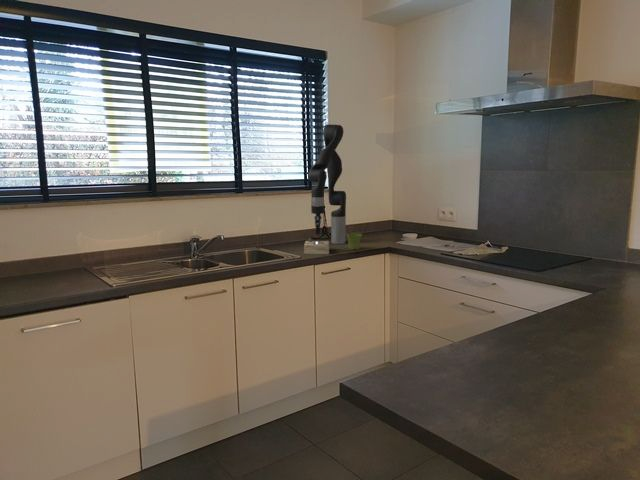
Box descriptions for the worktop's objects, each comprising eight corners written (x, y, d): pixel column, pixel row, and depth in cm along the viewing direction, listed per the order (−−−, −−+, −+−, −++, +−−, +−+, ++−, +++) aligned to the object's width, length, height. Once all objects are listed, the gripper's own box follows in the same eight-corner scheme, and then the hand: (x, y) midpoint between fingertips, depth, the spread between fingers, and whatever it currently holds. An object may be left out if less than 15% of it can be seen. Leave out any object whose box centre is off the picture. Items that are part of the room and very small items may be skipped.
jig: (305, 249, 280) (305, 237, 278) (329, 249, 279) (329, 237, 278) (304, 254, 264) (304, 242, 263) (329, 254, 263) (328, 241, 262)
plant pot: (354, 251, 272) (354, 236, 271) (343, 248, 280) (343, 234, 278) (365, 249, 278) (365, 234, 277) (354, 247, 285) (354, 233, 284)
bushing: (315, 251, 274) (315, 240, 273) (322, 251, 273) (322, 240, 272) (315, 252, 270) (315, 242, 269) (322, 252, 269) (321, 241, 268)
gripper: (311, 203, 274) (312, 231, 277) (310, 206, 260) (311, 235, 263) (324, 203, 274) (324, 230, 277) (324, 206, 260) (324, 234, 263)
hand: (318, 232), depth 270 cm, fingers open, 8 cm apart
